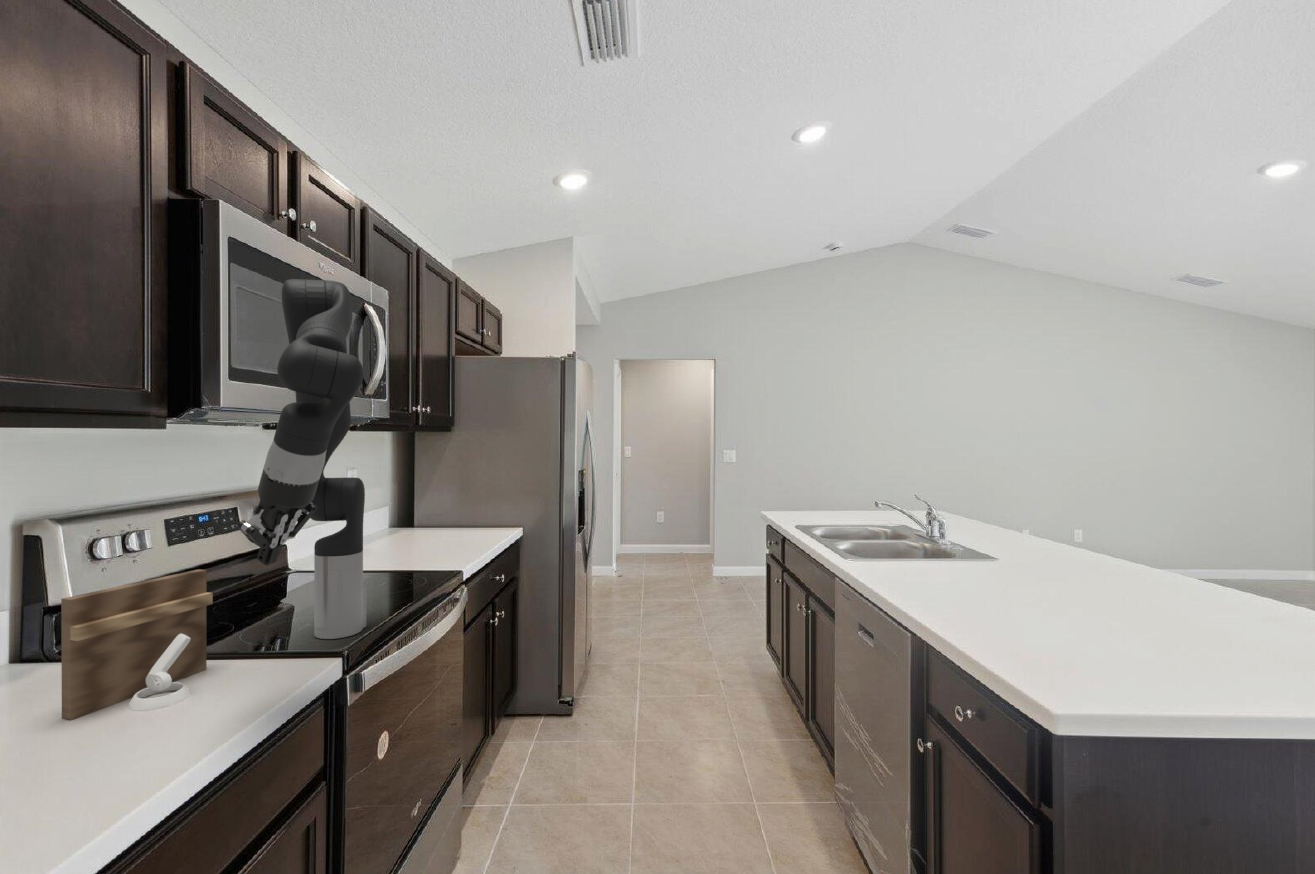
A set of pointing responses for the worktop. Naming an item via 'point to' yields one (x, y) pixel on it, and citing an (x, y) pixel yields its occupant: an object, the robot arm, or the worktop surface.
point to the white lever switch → (162, 681)
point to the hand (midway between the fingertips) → (266, 561)
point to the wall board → (129, 638)
